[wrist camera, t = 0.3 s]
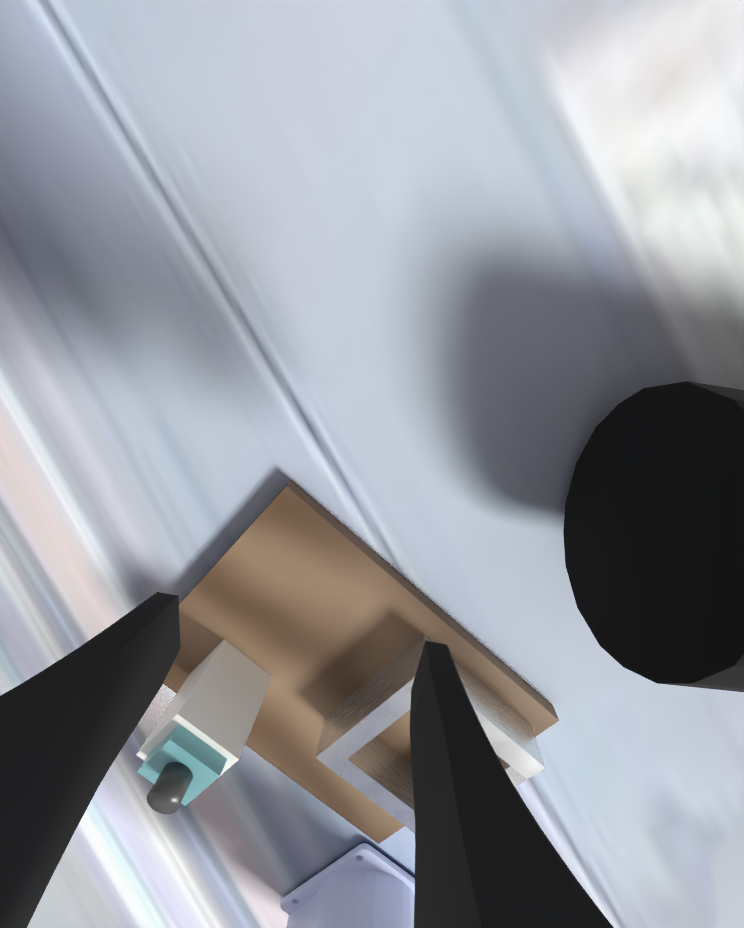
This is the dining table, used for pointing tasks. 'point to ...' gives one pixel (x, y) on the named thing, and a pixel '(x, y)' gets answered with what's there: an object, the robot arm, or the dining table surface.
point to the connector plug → (203, 728)
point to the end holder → (383, 702)
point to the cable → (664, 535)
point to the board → (324, 640)
